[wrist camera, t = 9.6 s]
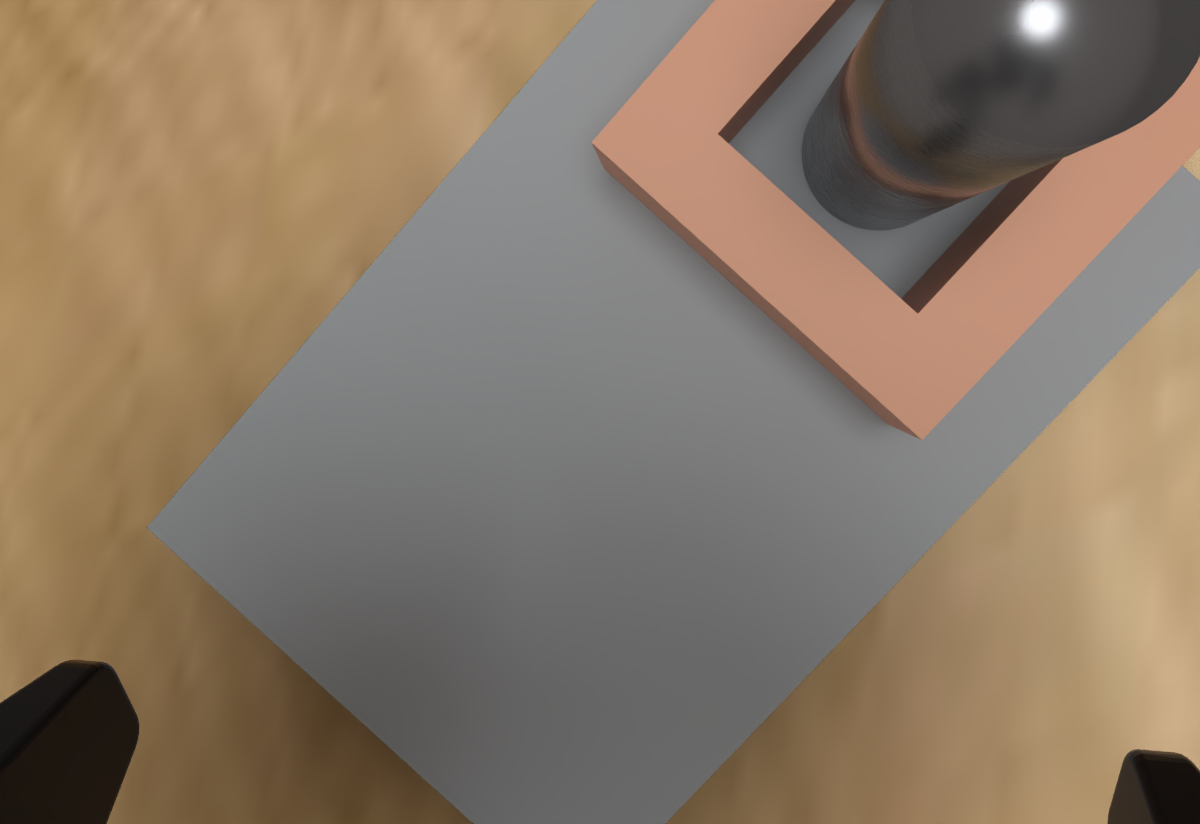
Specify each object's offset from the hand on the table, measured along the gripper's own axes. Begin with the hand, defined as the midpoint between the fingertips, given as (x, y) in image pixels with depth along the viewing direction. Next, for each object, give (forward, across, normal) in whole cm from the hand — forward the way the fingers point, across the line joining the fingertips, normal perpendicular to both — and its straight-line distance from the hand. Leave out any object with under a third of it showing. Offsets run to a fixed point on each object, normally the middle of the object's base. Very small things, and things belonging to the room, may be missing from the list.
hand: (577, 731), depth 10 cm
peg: (+15, -3, 0) cm, 15 cm away
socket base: (+13, +1, +5) cm, 14 cm away
